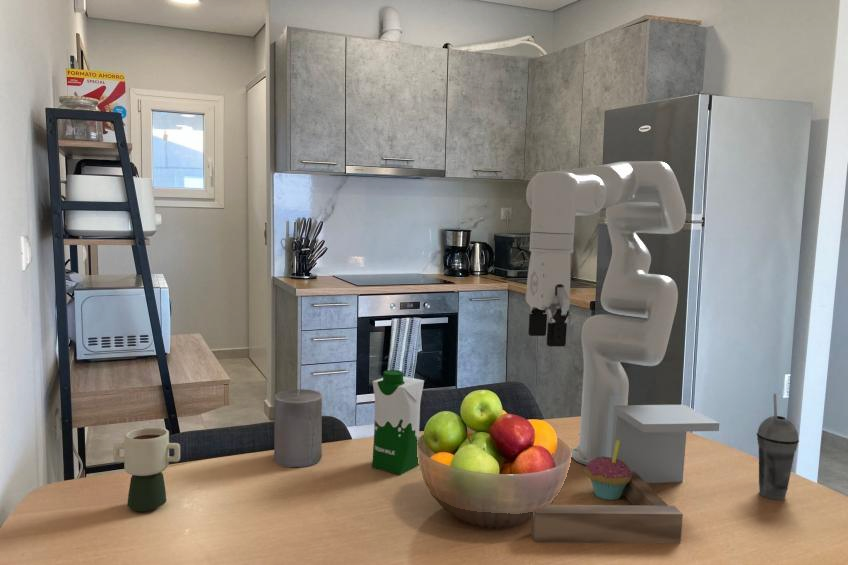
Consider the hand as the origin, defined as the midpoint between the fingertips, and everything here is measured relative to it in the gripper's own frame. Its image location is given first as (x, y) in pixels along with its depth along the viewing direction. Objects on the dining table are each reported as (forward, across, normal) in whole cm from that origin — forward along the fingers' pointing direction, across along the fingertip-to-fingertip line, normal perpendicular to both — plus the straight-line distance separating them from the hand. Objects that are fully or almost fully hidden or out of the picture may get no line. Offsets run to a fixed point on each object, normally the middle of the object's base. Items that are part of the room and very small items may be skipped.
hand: (546, 340), depth 121 cm
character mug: (+31, -5, -68) cm, 75 cm away
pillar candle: (+31, -26, -43) cm, 59 cm away
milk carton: (+31, -21, -23) cm, 44 cm away
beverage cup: (+31, -1, +48) cm, 57 cm away
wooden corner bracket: (+30, +4, +8) cm, 32 cm away
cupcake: (+31, -4, +15) cm, 34 cm away
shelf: (+30, -4, +26) cm, 40 cm away
